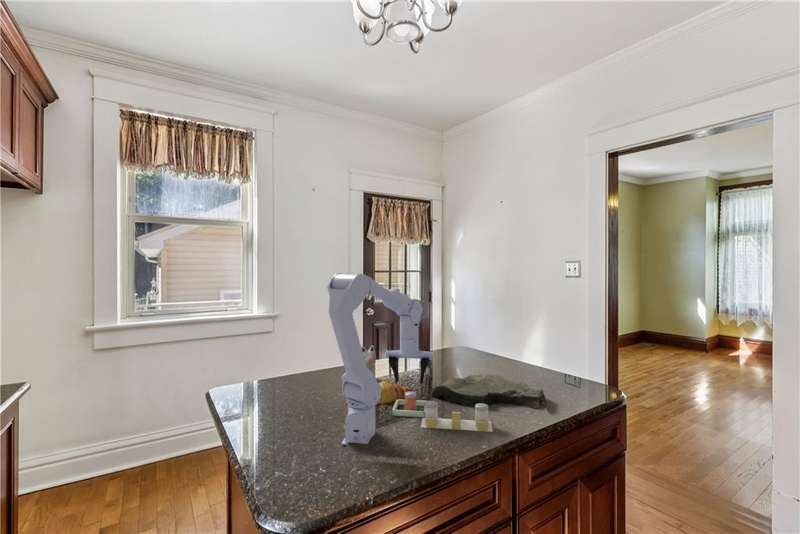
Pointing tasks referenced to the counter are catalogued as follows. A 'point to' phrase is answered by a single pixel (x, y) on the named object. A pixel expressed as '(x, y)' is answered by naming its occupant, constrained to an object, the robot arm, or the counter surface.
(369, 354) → the toy
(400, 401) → the tray
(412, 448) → the counter surface
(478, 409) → the grey fuse
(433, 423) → the fuse block
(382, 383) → the croissant
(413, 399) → the red fuse
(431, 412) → the grey fuse
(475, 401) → the stone
